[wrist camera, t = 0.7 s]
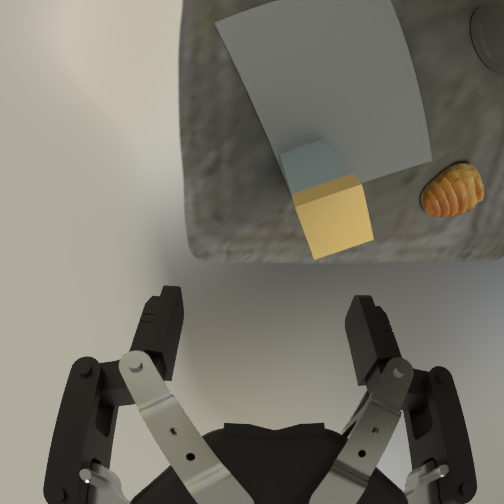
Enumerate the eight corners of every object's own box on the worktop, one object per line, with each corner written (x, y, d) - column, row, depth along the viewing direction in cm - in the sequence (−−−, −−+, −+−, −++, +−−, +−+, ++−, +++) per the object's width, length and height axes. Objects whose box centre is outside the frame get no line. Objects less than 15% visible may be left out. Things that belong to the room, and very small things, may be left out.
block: (324, 138, 29) (361, 184, 19) (336, 178, 32) (373, 239, 22) (279, 153, 30) (294, 206, 20) (295, 193, 33) (314, 259, 23)
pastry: (423, 221, 36) (436, 237, 33) (413, 180, 32) (427, 194, 29) (473, 195, 33) (488, 208, 30) (467, 154, 30) (484, 165, 26)
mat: (380, -19, 18) (382, -19, 18) (430, 159, 30) (432, 160, 30) (214, 23, 22) (214, 22, 22) (294, 203, 34) (295, 205, 34)
